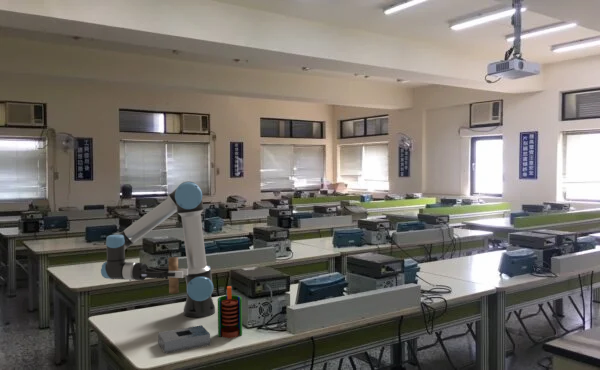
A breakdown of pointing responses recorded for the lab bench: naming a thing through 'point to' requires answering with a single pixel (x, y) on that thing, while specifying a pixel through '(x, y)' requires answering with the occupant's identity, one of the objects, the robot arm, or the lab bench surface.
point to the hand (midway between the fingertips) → (185, 273)
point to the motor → (229, 315)
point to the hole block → (183, 339)
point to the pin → (173, 281)
